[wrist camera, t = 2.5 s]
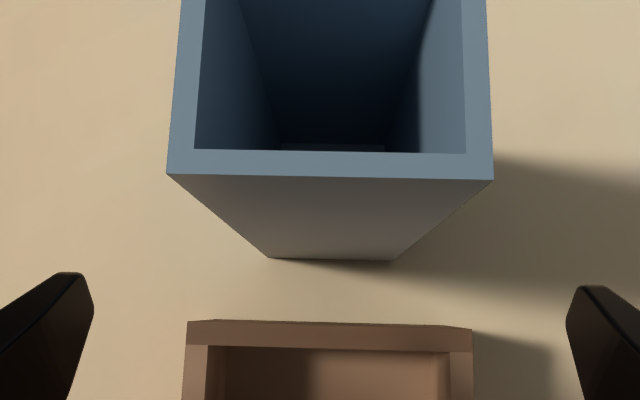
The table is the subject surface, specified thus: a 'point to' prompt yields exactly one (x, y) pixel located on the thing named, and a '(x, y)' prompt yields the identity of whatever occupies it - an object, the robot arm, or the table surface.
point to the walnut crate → (326, 361)
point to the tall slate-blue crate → (332, 120)
